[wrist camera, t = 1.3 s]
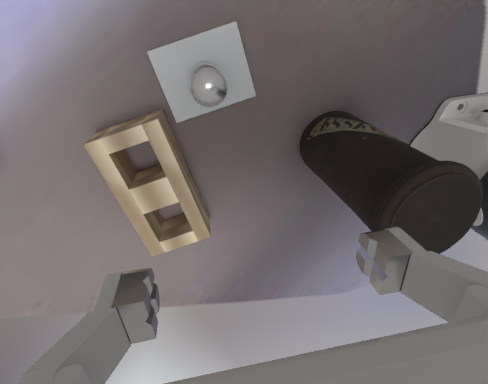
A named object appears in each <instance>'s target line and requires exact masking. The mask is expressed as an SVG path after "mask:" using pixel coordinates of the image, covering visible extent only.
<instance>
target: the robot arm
mask: <svg viewBox="0 0 488 384" xmlns="http://www.w3.org/2000/svg"><path fill="white" fill-rule="evenodd" d="M458 106H459V107H458ZM410 146H411V147H413V148H415V149H417V150H419V151H421V152H423V153H425V154H427V155H429V156H431V157H433V158H435V159H437V160H439V161H454V162H458V163H461V164H464V165H466V166H467V167H469V168H470V169H471V170H473V171H474V172H475V173H476V175H477V176H478V177H479V179H480V181H481V184H482V190H483V199H482V204H481V208H480V211H479V214H478V216H477V218H476V220H475V222H474V224H473V225H472V227H471V228H472V229H473V230H474V231H475V232H477V233H478V234H480V235H481V236H483V237H484V238H486V239H487V240H488V93H481V94H474V95H466V96H459V97H452V98H448V99H446V100H445V101H444V102H443V103H442V104H441V106H440V107H439V109H438V111H437V112H436V114H435V116H434V118H433V120H432V121H431V122H430V123H429V124H428V125H427V126H426V127H425V128H424V129H423V130H422V131H421V132H420V133H419V135H418V136H417V137H416V138H415V139H414V141H413V142H412V143H411V145H410ZM358 242H359V243H360V244H361V246H360V248H359V249H358V250H357V255H356V259H357V263H358V266H359V268H360V270H361V271H362V272H363V274H365V275H367V276H369V277H370V283H371V284H372V286H373V287H374V288H375V290H376V291H377V292H378V293H379V294H380V295H382V294H388V293H394V292H400V291H401V293H402V294H404V295H406V296H407V297H409V298H410V299H412V300H413V301H415V302H417V303H418V304H420V305H422V306H423V307H425V308H427V309H428V310H430V311H431V312H433V313H434V314H436V315H438V316H440V317H441V318H443V319H444V320H446V321H447V322H449V323H445V324H440V325H436V326H431V327H426V328H422V329H417V330H412V331H408V332H403V333H398V334H394V335H389V336H384V337H380V338H375V339H370V340H366V341H361V342H356V343H352V344H347V345H342V346H338V347H333V348H328V349H324V350H319V351H314V352H310V353H305V354H300V355H296V356H291V357H287V358H282V359H277V360H272V361H268V362H263V363H258V364H254V365H249V366H245V367H240V368H235V369H231V370H226V371H221V372H216V373H212V374H207V375H202V376H198V377H193V378H188V379H183V380H179V381H175V382H169V383H165V384H488V272H486V271H484V270H481V269H478V268H475V267H473V266H470V265H468V264H465V263H462V262H459V261H457V260H454V259H451V258H449V257H446V256H443V255H441V254H438V253H435V252H433V251H426V250H425V249H424V248H423V247H422V246H420V245H419V244H418V243H417V242H416V241H415V240H413V239H412V238H411V237H410V236H409V235H408V234H407V233H405V232H404V231H403V230H402V229H401V228H398V227H393V228H388V229H384V230H378V231H372V232H366V233H361V235H360V236H359V241H358ZM159 305H160V302H159V291H158V287H157V285H156V284H155V283H154V273H153V270H152V269H151V268H148V269H141V270H134V271H127V272H122V273H114V274H108V275H107V276H106V278H105V281H104V283H103V286H102V289H101V292H100V295H99V298H98V300H97V303H96V306H95V309H94V311H92V312H89V313H88V314H87V315H86V316H84V317H83V318H82V319H81V320H80V321H79V322H78V323H77V324H76V325H75V326H74V327H73V328H72V329H70V330H69V331H68V332H67V333H66V334H65V335H64V336H63V337H62V338H61V339H60V340H59V341H58V342H56V343H55V344H54V345H53V346H52V347H51V348H50V349H49V350H48V351H47V352H46V353H45V354H44V355H42V357H40V358H39V359H38V360H37V361H36V362H35V363H34V364H33V365H32V366H31V367H30V368H29V369H28V370H26V372H24V373H23V375H22V377H21V379H20V381H19V383H18V384H105V382H106V381H107V380H108V378H109V377H110V375H111V374H112V372H113V371H114V369H115V368H116V366H117V365H118V363H119V362H120V361H121V359H122V358H123V356H124V355H125V353H126V352H127V350H128V349H129V347H130V346H131V345H130V344H133V343H138V342H142V341H147V340H151V339H155V338H156V334H157V325H158V321H157V317H156V314H157V313H158V312H159Z"/></svg>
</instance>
